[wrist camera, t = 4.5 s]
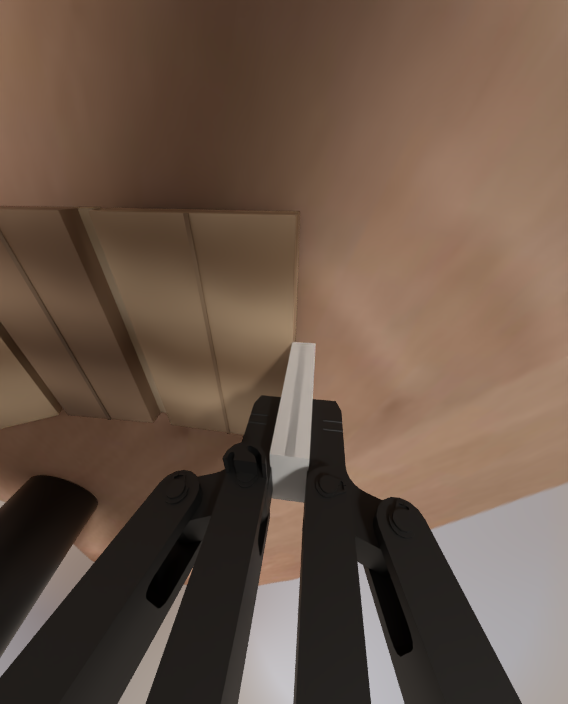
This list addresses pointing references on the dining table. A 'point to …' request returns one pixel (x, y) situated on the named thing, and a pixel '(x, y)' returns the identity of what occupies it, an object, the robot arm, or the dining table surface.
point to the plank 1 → (21, 387)
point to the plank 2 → (207, 304)
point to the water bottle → (36, 543)
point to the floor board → (72, 314)
